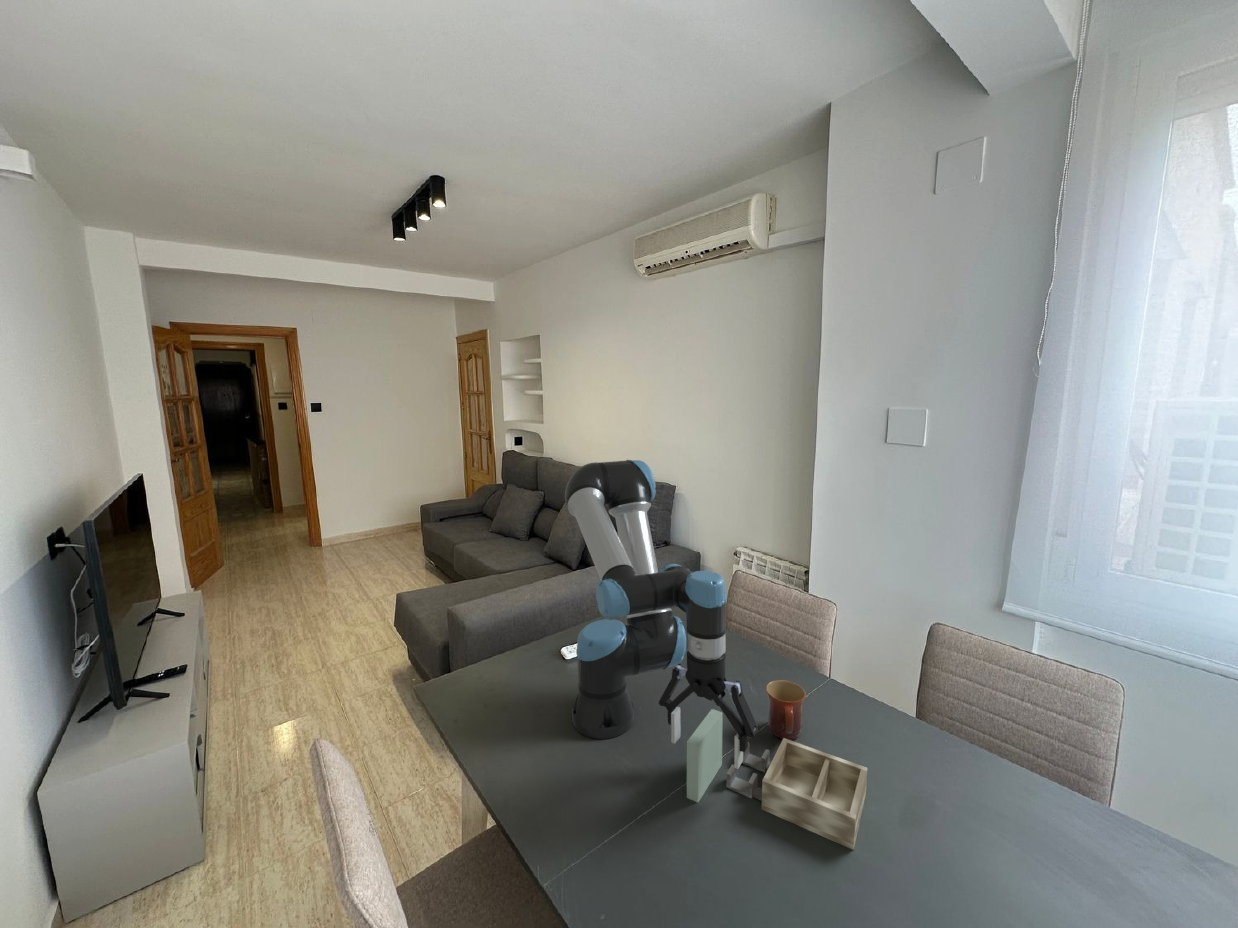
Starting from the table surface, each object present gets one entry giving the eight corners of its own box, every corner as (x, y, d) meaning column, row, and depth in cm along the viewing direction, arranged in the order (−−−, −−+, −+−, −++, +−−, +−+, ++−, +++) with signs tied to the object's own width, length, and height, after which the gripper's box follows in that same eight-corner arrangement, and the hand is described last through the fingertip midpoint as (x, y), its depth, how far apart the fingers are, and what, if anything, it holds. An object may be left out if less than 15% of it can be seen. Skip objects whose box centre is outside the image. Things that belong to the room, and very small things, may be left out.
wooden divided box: (723, 792, 100) (723, 764, 99) (747, 750, 112) (748, 725, 111) (853, 849, 87) (855, 818, 86) (865, 795, 99) (867, 767, 98)
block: (683, 796, 99) (683, 740, 98) (708, 758, 109) (709, 707, 107) (697, 802, 98) (698, 746, 96) (721, 764, 108) (722, 712, 106)
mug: (763, 717, 123) (764, 678, 121) (801, 721, 121) (802, 681, 119) (767, 751, 111) (768, 708, 109) (809, 757, 109) (811, 713, 108)
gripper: (641, 643, 103) (643, 739, 106) (762, 678, 89) (761, 788, 92) (659, 629, 109) (660, 720, 112) (775, 659, 95) (773, 763, 98)
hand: (706, 751), depth 102 cm, fingers open, 13 cm apart
